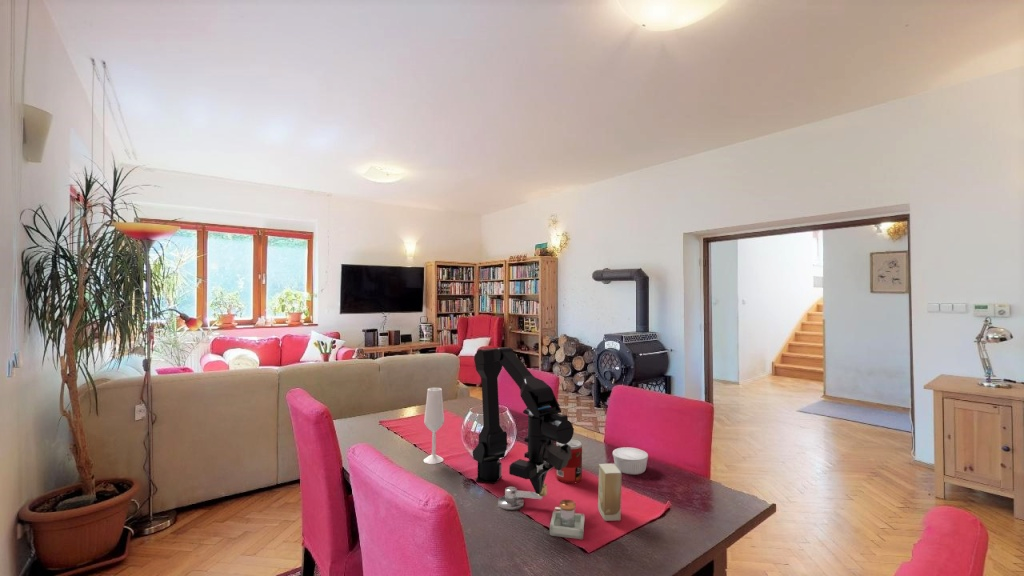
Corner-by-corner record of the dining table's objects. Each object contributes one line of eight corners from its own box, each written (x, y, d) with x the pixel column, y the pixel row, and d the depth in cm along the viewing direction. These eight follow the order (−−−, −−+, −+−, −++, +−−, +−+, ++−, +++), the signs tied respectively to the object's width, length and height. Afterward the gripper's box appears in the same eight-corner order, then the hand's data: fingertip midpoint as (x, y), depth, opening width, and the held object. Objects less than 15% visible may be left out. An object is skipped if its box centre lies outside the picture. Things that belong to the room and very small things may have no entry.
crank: (503, 503, 117) (504, 484, 117) (506, 497, 120) (506, 479, 120) (546, 507, 115) (546, 488, 115) (547, 501, 118) (547, 482, 118)
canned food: (581, 485, 130) (581, 448, 130) (554, 482, 132) (554, 445, 132) (582, 474, 138) (582, 439, 138) (557, 472, 139) (557, 437, 140)
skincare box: (597, 509, 116) (597, 462, 116) (613, 508, 116) (613, 462, 116) (604, 521, 109) (605, 472, 110) (621, 521, 110) (622, 472, 110)
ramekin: (609, 472, 140) (610, 456, 140) (615, 460, 150) (615, 445, 150) (646, 478, 135) (646, 461, 135) (649, 465, 146) (649, 449, 146)
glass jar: (558, 529, 105) (559, 506, 105) (560, 521, 108) (560, 498, 108) (574, 531, 104) (575, 507, 104) (575, 522, 108) (576, 500, 108)
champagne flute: (447, 461, 147) (448, 389, 148) (428, 465, 144) (429, 392, 144) (438, 454, 153) (439, 386, 153) (420, 459, 149) (421, 388, 149)
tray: (549, 535, 103) (549, 526, 103) (553, 518, 111) (553, 510, 111) (582, 539, 101) (583, 530, 102) (584, 522, 109) (584, 514, 109)
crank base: (495, 508, 116) (495, 505, 116) (501, 496, 122) (501, 493, 122) (521, 511, 114) (521, 508, 114) (525, 499, 121) (525, 496, 121)
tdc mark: (554, 509, 115) (554, 508, 115) (555, 507, 116) (555, 506, 116) (566, 511, 115) (566, 509, 115) (566, 509, 116) (566, 508, 116)
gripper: (546, 449, 103) (545, 516, 103) (582, 430, 118) (582, 489, 118) (508, 440, 110) (507, 503, 109) (547, 423, 125) (546, 478, 124)
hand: (538, 493), depth 115 cm, fingers closed
